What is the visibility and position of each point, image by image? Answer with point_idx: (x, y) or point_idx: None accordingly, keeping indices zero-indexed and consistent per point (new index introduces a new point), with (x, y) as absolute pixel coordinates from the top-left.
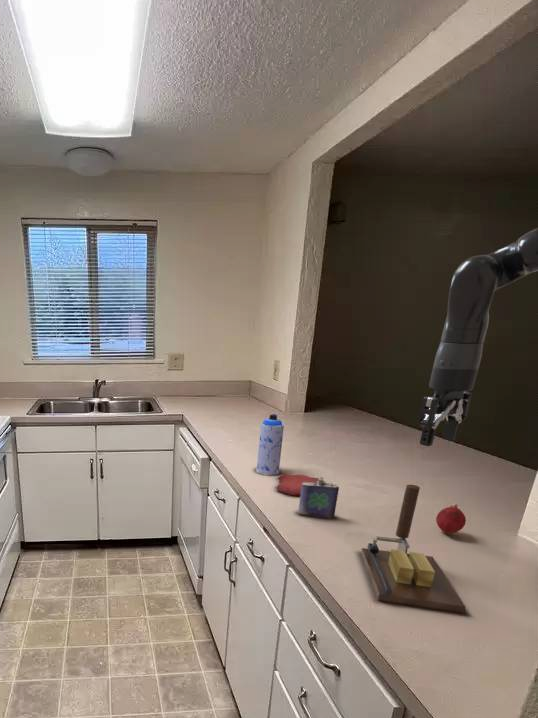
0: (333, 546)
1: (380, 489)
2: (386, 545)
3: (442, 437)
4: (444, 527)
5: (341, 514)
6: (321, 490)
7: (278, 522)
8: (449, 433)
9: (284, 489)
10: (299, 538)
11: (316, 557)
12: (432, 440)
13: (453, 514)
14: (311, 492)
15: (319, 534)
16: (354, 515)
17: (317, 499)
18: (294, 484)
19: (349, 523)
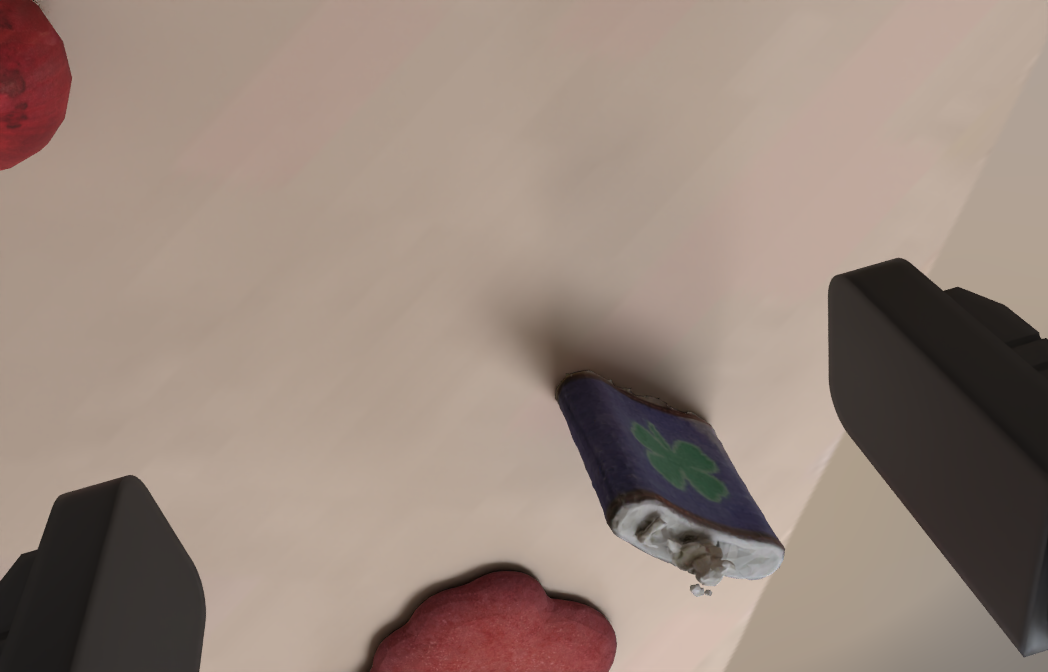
0: (834, 91)
1: None
2: (547, 16)
3: (204, 604)
4: (55, 31)
5: (496, 398)
6: (696, 505)
7: None
8: (146, 622)
9: (608, 645)
10: (913, 210)
11: (1008, 10)
12: (921, 312)
13: None
14: (732, 507)
15: (789, 225)
16: (433, 377)
17: (684, 469)
18: None
19: (538, 300)
